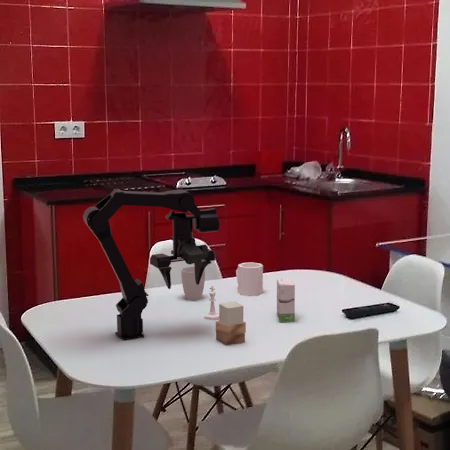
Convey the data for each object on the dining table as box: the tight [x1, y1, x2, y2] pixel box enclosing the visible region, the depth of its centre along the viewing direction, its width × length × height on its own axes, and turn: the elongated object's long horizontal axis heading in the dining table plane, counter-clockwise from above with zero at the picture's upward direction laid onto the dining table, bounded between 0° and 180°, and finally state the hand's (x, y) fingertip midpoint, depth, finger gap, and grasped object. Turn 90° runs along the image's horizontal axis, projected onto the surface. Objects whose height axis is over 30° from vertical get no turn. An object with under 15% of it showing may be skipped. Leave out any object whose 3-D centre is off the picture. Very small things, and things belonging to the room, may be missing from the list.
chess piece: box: [204, 285, 219, 321], centre depth 234 cm, size 5×5×10 cm
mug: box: [235, 261, 264, 297], centre depth 263 cm, size 12×9×10 cm
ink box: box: [276, 277, 296, 323], centre depth 233 cm, size 9×5×12 cm, turn 2°
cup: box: [180, 266, 206, 301], centre depth 255 cm, size 8×8×10 cm
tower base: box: [215, 331, 246, 347], centre depth 213 cm, size 6×6×3 cm
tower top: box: [215, 320, 247, 337], centre depth 213 cm, size 6×6×3 cm
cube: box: [218, 301, 244, 326], centre depth 212 cm, size 5×5×5 cm
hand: (183, 286), depth 221 cm, fingers open, 9 cm apart
